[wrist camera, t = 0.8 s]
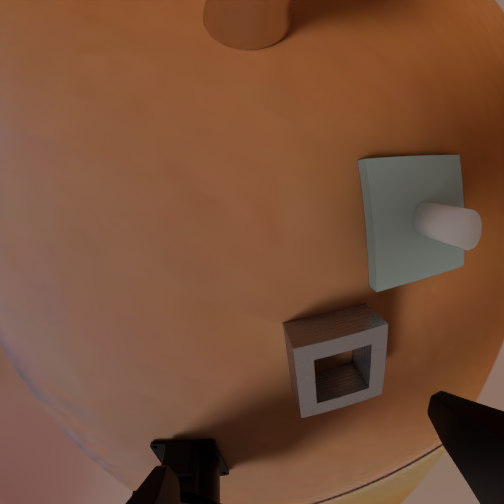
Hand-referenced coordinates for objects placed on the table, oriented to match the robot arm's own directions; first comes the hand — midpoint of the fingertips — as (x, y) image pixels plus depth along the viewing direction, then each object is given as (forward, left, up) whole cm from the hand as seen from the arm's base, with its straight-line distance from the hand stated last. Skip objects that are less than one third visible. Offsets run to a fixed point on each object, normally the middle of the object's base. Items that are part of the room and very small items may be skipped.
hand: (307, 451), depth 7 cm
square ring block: (-5, -4, -13) cm, 14 cm away
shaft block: (+4, -12, -12) cm, 18 cm away
